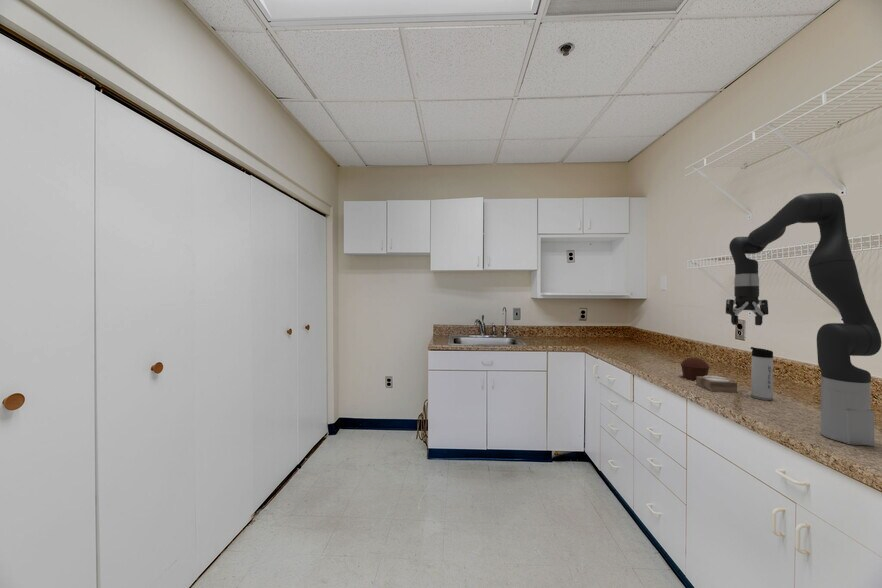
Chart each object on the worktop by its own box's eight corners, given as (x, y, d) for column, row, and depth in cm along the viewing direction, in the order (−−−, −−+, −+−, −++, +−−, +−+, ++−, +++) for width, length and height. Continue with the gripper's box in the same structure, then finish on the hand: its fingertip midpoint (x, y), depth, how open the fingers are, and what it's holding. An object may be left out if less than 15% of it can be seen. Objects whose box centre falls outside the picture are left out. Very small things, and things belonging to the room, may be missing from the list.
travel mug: (749, 394, 139) (749, 346, 139) (771, 398, 135) (772, 347, 134) (750, 398, 134) (751, 348, 134) (773, 401, 130) (774, 350, 130)
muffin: (709, 383, 156) (709, 361, 156) (680, 379, 163) (680, 358, 163) (708, 378, 165) (709, 357, 165) (681, 374, 172) (681, 355, 172)
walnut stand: (737, 392, 142) (737, 381, 142) (710, 391, 143) (711, 380, 143) (720, 385, 152) (720, 375, 152) (696, 384, 153) (696, 375, 153)
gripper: (734, 284, 135) (734, 325, 135) (773, 285, 133) (774, 326, 133) (721, 285, 142) (721, 324, 142) (758, 285, 141) (758, 324, 140)
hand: (746, 325), depth 137 cm, fingers open, 8 cm apart
